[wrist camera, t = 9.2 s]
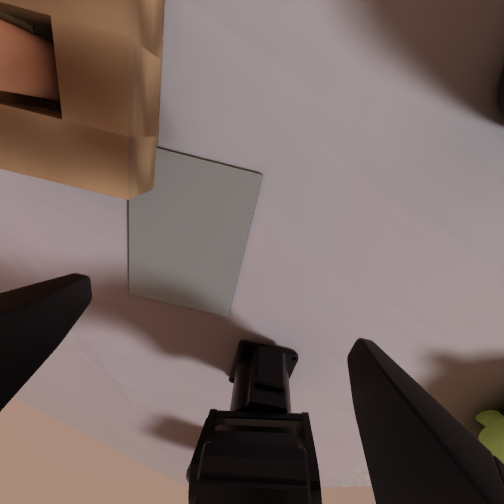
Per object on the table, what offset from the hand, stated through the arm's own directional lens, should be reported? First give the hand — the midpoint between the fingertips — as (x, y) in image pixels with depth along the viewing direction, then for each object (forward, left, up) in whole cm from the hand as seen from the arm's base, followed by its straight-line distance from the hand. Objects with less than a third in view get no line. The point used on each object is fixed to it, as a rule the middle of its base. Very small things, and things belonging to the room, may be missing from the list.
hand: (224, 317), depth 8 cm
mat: (-4, +5, -12) cm, 14 cm away
